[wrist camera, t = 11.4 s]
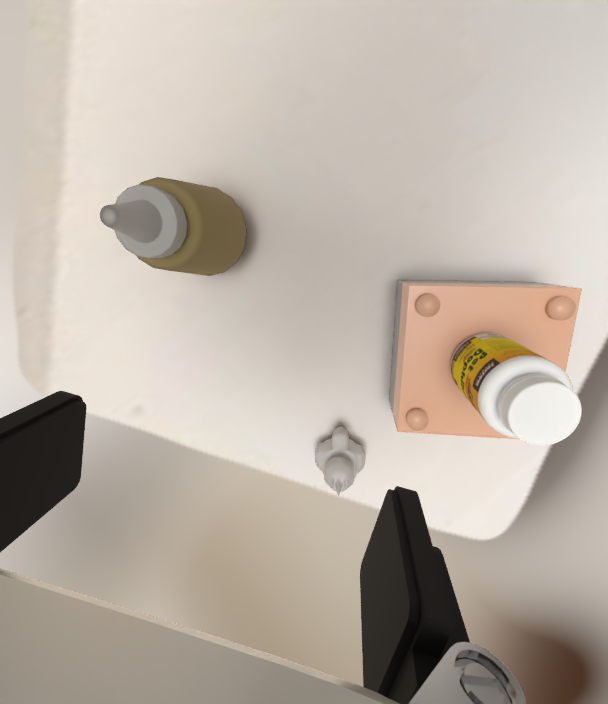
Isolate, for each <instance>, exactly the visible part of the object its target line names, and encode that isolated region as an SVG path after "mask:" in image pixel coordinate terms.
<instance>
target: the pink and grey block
mask: <svg viewBox="0 0 608 704" xmlns="http://www.w3.org/2000/svg"><path fill="white" fill-rule="evenodd" d="M581 290H582V289H580V288H573V287H566V286H559V285H552V284H544V283H537V282H498V281H435V280H398V281H397V295H396V309H395V323H394V337H393V351H392V365H391V379H390V393H389V402H390V406H391V409H392V413H393V417H394V420H395V424H396V427H397V431H398V432H412V433H428V434H444V435H460V436H477V437H493V438H509V439H517V438H511V437H508V436H505V435H502V434H500V433H499V432H497V431H495V430H494V429H493V428H491V427H490V426H489V425H488V424H487V423H486V421H485V420H484V419H483V418H482V416H481V415H480V414H479V413H478V412H477V410H476V409H475V408H474V407H473V406H472V404H471V403H470V402H469V400H468V399H467V398H466V397H465V395H464V394H463V393H462V392H461V390H460V389H459V388H458V387H457V385H456V384H455V382H454V380H453V378H452V375H451V360H452V357H453V354H454V352H455V351H456V349H457V348H458V347H459V345H460V344H461V343H463V342H464V341H465V340H467V339H468V338H470V337H472V336H475V335H478V334H482V333H495V334H499V335H502V336H505V337H507V338H509V339H511V340H513V341H514V342H516V343H518V344H520V345H522V346H524V347H525V348H527V349H529V350H531V351H533V352H535V353H537V354H539V355H540V356H542V357H544V358H546V359H548V360H550V361H552V362H553V363H555V364H557V365H558V366H559V367H560V368H561V369H563V370H564V372H565V371H566V366H567V361H568V356H569V351H570V346H571V341H572V336H573V331H574V325H575V320H576V315H577V310H578V305H579V300H580V295H581Z"/></svg>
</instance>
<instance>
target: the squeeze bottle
mask: <svg viewBox="0 0 608 704" xmlns="http://www.w3.org/2000/svg"><path fill="white" fill-rule="evenodd" d="M100 218H101V221H102V222H103V223H104V224H105V225H106V226H108V227H110V228H112V229H114V230H115V233H116V236H117V238H118V239H119V241H120V242H121V243H122V244H123V246H124V247H125V248H126V249H127V250H129V251H130V252H132V253H133V254H135V255H136V256H137V257H138V258H139V259H140V260H142V261H143V262H145V263H147V264H148V265H150V266H151V267H153V268H158V269H163V270H169V271H177V272H184V273H192V274H200V275H207V276H211V275H215V274H219V273H223V272H225V271H226V270H228V269H229V268H230V267H231V266H233V265H234V264H235V263H236V262H237V261H238V259H239V257H240V255H241V254H242V252H243V250H244V248H245V241H246V232H247V229H246V225H245V222H244V218H243V214H242V212H241V210H240V209H239V207H238V206H237V205H236V203H235V202H234V200H233V199H232V198H231V197H230V196H228V195H226V194H225V193H223V192H222V191H220V190H219V189H217V188H212V187H207V186H202V185H198V184H193V183H188V182H183V181H178V180H172V179H166V178H159V177H157V178H153V179H150V180H147V181H144V182H141V183H140V184H139V185H136V186H133V187H130V188H127V189H126V190H125V191H124V192H123V193H122V194H121V195H120V196H119V197H118V198H117V201H116V203H115V204H113V205H107V206H104V207H103V208H102V209H101V212H100Z"/></svg>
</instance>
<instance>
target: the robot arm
mask: <svg viewBox="0 0 608 704" xmlns="http://www.w3.org/2000/svg"><path fill="white" fill-rule="evenodd" d="M85 418H86V404H85V403H84V402H83V400H82V398H81V397H80V396H78V395H74V394H71V393H67V392H64V391H59V392H56V393H54V394H52V395H50V396H47V397H45V398H43V399H41V400H39V401H37V402H35V403H32V404H30V405H28V406H26V407H24V408H22V409H20V410H17V411H16V412H13V413H11V414H9V415H7V416H5V417H3V418H0V552H1V551H2V550H4V549H5V548H6V547H7V546H8V545H9V544H11V543H12V542H13V541H14V540H15V539H16V538H18V537H19V536H20V535H21V534H22V533H24V532H25V531H26V530H27V529H28V528H29V527H31V526H32V525H33V524H34V523H35V522H36V521H37V520H39V519H40V518H41V517H42V516H44V515H45V514H46V513H47V512H48V511H49V510H51V509H52V508H53V507H54V506H55V505H56V504H57V503H59V502H60V501H61V500H62V499H64V498H65V497H66V496H67V495H68V494H69V493H70V492H72V491H73V490H74V489H75V488H76V487H77V485H78V483H79V481H80V478H81V467H82V455H83V442H84V430H85ZM360 588H361V619H362V651H363V681H364V682H363V683H364V687H362V686H359V685H356V684H354V683H351V682H349V681H347V680H344V679H342V678H339V677H336V676H333V675H330V674H327V673H324V672H322V671H318V670H316V669H313V668H310V667H307V666H304V665H301V664H298V663H295V662H292V661H289V660H287V659H284V658H281V657H278V656H275V655H272V654H269V653H266V652H263V651H259V650H256V649H253V648H250V647H247V646H244V645H241V644H238V643H235V642H232V641H228V640H225V639H222V638H219V637H216V636H213V635H210V634H207V633H203V632H200V631H197V630H194V629H191V628H188V627H185V626H182V625H179V624H176V623H172V622H169V621H166V620H163V619H160V618H157V617H153V616H150V615H147V614H144V613H141V612H138V611H134V610H131V609H128V608H125V607H121V606H118V605H115V604H112V603H109V602H106V601H103V600H99V599H96V598H93V597H90V596H87V595H84V594H80V593H77V592H74V591H71V590H68V589H64V588H61V587H58V586H55V585H51V584H48V583H45V582H41V581H39V580H35V579H32V578H29V577H26V576H22V575H19V574H16V573H13V572H9V571H6V570H3V569H0V704H526V701H525V697H524V695H523V693H522V690H521V688H520V686H519V684H518V682H517V681H516V679H515V678H514V676H513V675H512V673H511V672H510V671H509V669H508V668H507V667H506V666H505V665H504V664H503V663H502V662H501V661H500V660H499V659H498V658H497V657H496V656H494V655H493V654H491V653H490V652H489V651H488V650H486V649H484V648H482V647H480V646H478V645H477V644H473V643H470V642H469V638H468V635H467V632H466V628H465V625H464V622H463V619H462V616H461V612H460V609H459V606H458V603H457V600H456V597H455V593H454V590H453V586H452V583H451V580H450V577H449V574H448V570H447V567H446V564H445V561H444V557H443V555H442V552H441V550H440V549H439V548H437V547H433V546H432V543H431V539H430V536H429V532H428V528H427V525H426V521H425V518H424V514H423V511H422V507H421V504H420V500H419V497H418V494H417V492H416V491H412V490H409V489H405V488H402V487H398V486H397V487H396V488H395V489H394V490H390V489H389V490H388V491H387V494H386V496H385V499H384V502H383V505H382V507H381V510H380V513H379V516H378V519H377V521H376V525H375V527H374V530H373V533H372V535H371V538H370V541H369V544H368V546H367V549H366V552H365V555H364V558H363V561H362V565H361V570H360Z"/></svg>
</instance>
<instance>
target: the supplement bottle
mask: <svg viewBox="0 0 608 704" xmlns="http://www.w3.org/2000/svg"><path fill="white" fill-rule="evenodd" d="M451 375H452V378H453V380H454V382H455V384H456V385H457V387H458V388H459V389H460V390H461V392H462V393H463V394H464V395H465V397H466V398H467V399H468V400H469V402H470V403H471V404H472V406H473V407H474V408H475V409H476V410H477V412H478V413H479V414H480V415H481V416H482V418H483V419H484V420H485V421H486V423H487V424H488V425H489V426H490V427H491V428H493V429H494V430H495V431H497V432H499V433H500V434H502V435H505V436H508V437H511V438H517V439H520V440H522V441H524V442H526V443H529V444H533V445H550V444H554V443H557V442H559V441H561V440H563V439H565V438H566V437H568V436H569V435H570V434H571V433H572V432H573V431H574V430H575V428H576V427H577V425H578V423H579V421H580V418H581V412H582V411H581V410H582V409H581V404H580V401H579V398H578V397H577V395H576V394H575V393H574V392H573V387H572V384H571V381H570V379H569V377H568V376H567V374H566V373H565V372H564V370H563V369H561V368H560V367H559V366H558V365H557V364H555V363H553V362H552V361H550V360H548V359H546V358H544V357H542V356H540V355H539V354H537V353H535V352H533V351H531V350H529V349H527V348H525V347H524V346H522V345H520V344H518V343H516V342H514V341H513V340H511V339H509V338H507V337H505V336H502V335H499V334H495V333H482V334H478V335H475V336H472V337H470V338H468V339H467V340H465V341H464V342H463V343H461V344H460V345H459V347H458V348H457V349H456V351H455V352H454V354H453V357H452V360H451Z"/></svg>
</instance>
